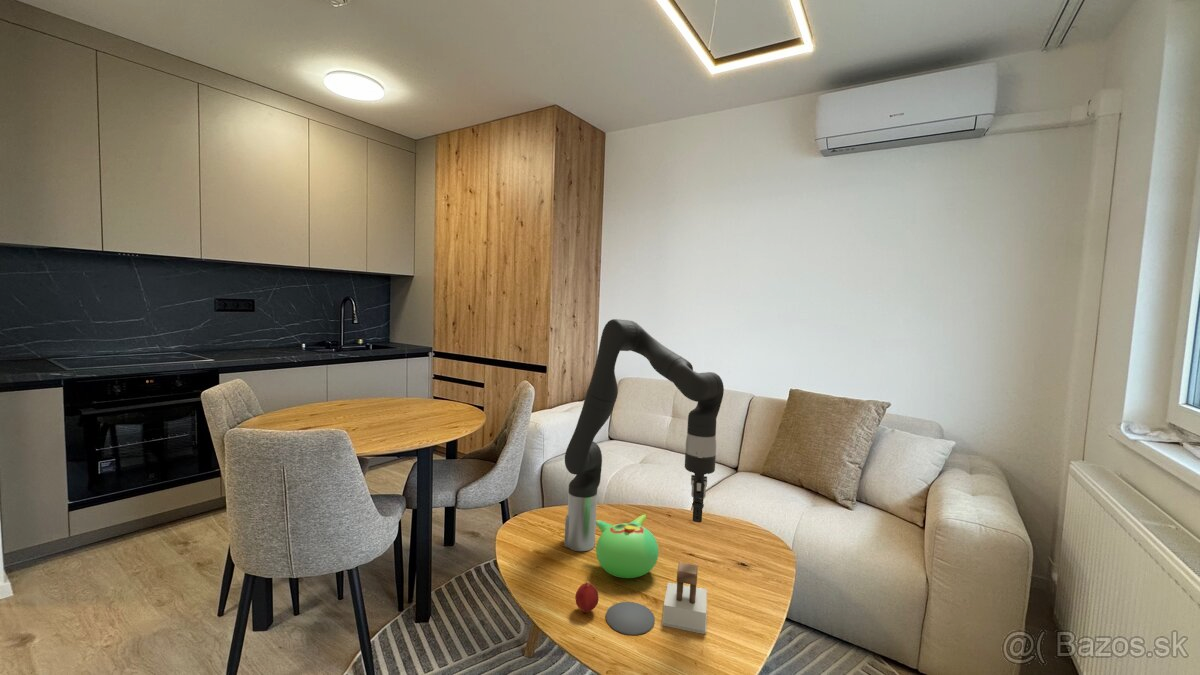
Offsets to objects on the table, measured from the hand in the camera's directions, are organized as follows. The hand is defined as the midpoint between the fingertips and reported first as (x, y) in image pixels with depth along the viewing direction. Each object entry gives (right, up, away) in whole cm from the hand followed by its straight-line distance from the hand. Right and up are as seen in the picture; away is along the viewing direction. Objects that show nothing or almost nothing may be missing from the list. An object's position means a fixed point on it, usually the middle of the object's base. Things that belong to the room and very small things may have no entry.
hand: (697, 514), depth 118 cm
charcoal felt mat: (-17, -24, -3) cm, 30 cm away
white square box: (-3, -25, -2) cm, 25 cm away
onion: (-28, -24, -2) cm, 37 cm away
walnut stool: (-3, -20, -2) cm, 20 cm away
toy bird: (-17, -24, +17) cm, 34 cm away
